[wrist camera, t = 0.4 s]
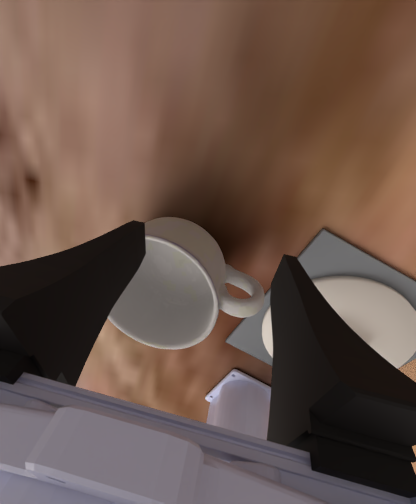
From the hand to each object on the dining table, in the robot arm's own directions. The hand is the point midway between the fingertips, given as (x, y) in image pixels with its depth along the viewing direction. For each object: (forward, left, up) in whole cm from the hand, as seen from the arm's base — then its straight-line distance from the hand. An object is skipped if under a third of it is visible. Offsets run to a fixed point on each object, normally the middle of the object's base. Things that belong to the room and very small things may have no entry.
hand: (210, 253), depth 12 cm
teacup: (-7, 0, -11) cm, 13 cm away
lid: (-7, -17, -10) cm, 21 cm away
